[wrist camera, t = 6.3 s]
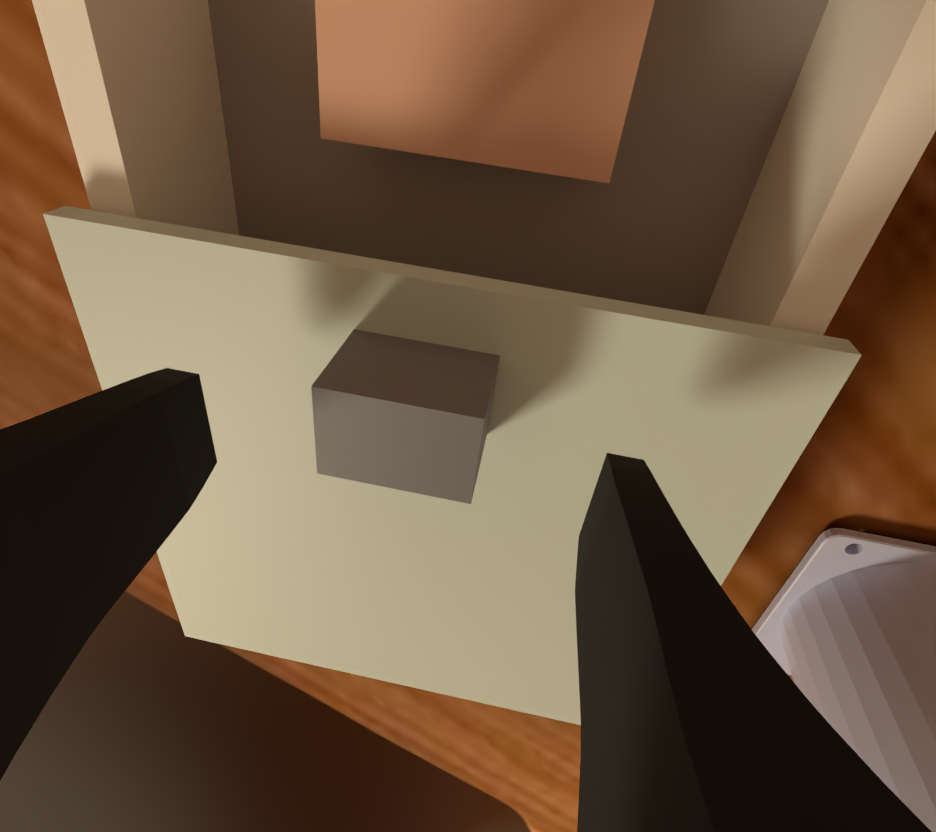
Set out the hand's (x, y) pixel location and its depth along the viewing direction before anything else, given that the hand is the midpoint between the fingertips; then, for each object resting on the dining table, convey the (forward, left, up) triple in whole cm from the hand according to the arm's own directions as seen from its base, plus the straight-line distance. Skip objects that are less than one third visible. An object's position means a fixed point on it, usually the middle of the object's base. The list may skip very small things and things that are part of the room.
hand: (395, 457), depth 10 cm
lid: (0, +5, -3) cm, 6 cm away
